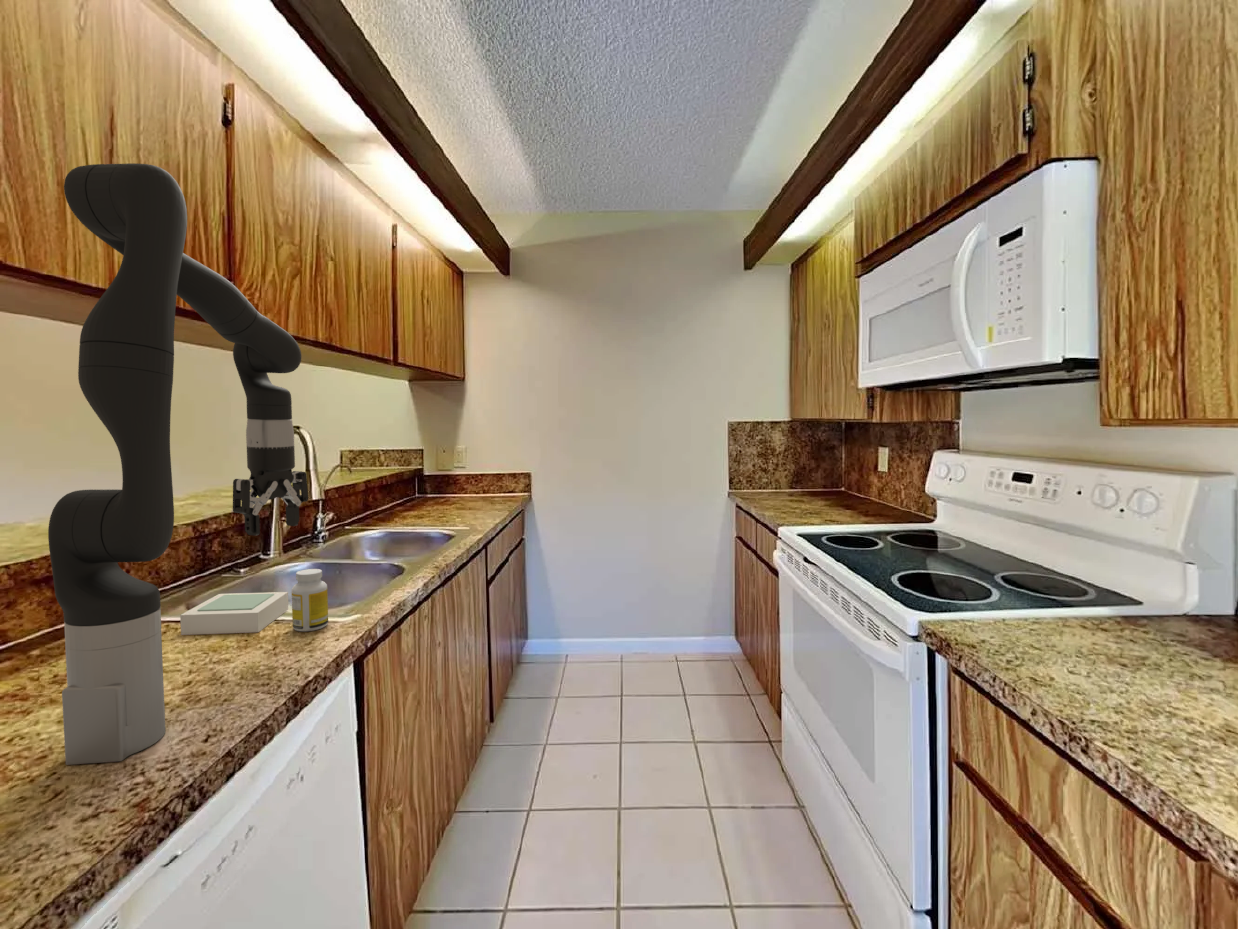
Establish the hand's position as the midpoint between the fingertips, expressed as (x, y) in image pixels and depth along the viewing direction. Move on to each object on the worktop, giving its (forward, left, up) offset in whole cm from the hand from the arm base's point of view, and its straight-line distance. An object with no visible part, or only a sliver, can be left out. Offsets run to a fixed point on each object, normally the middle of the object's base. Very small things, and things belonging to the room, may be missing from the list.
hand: (273, 530), depth 106 cm
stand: (+14, +13, -22) cm, 29 cm away
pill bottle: (+9, -3, -22) cm, 24 cm away
